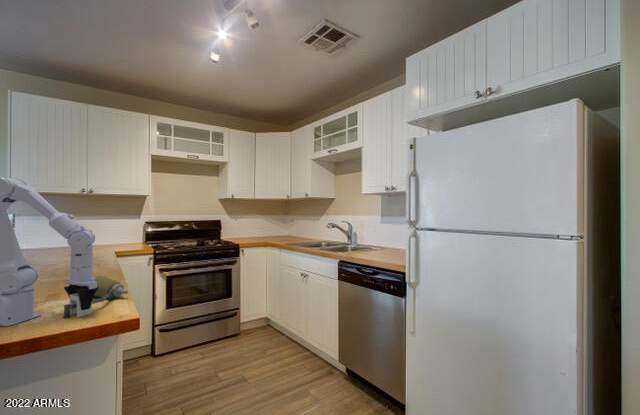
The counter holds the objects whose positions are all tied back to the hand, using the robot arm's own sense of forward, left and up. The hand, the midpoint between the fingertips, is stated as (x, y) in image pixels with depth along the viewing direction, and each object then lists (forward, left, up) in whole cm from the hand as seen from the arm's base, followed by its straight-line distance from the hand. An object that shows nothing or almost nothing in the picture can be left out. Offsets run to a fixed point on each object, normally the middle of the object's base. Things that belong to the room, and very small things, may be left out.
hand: (80, 308), depth 100 cm
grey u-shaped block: (0, 0, -2) cm, 2 cm away
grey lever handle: (+5, +1, -2) cm, 6 cm away
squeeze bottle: (+19, +17, +2) cm, 25 cm away
